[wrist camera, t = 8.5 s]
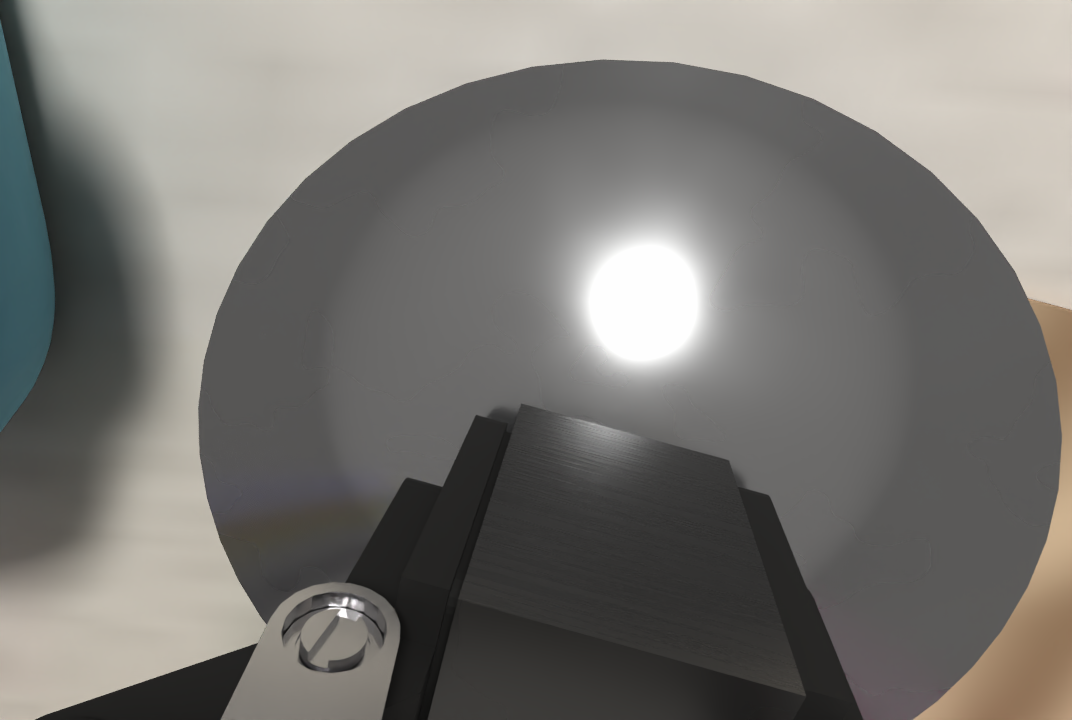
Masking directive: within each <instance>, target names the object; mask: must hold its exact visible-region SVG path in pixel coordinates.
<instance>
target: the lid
mask: <svg viewBox="0 0 1072 720" xmlns="http://www.w3.org/2000/svg"><path fill="white" fill-rule="evenodd" d="M198 410H199V445H200V459H201V464H202V470H203V476H204V482H205V488H206V494H207V499H208V502H209V506H210V509H211V512H212V515H213V518H214V522H215V525H216V528H217V531H218V535H219V538H220V541H221V543H222V545H223V547H224V550H225V552H226V554H227V556H228V558H229V561H230V563H231V565H232V567H233V569H234V571H235V574H236V576H237V578H238V580H239V582H240V584H241V585H242V587H243V588H244V590H245V592H246V593H247V595H248V597H249V598H250V600H251V602H252V603H253V605H254V606H255V608H256V610H257V611H258V613H259V615H260V616H261V618H262V619H263V620H264V622H265V623H266V624H268V622H269V620H270V618H271V616H272V615H273V614H274V612H275V611H276V610H277V608H278V607H279V605H280V604H281V603H282V602H284V601H285V600H286V599H288V598H289V597H290V596H292V595H293V594H294V593H296V592H298V591H301V590H303V589H306V588H308V587H311V586H313V585H319V584H325V583H331V582H338V583H345V582H346V580H347V579H348V577H349V575H350V573H351V572H352V570H353V568H354V566H355V565H356V563H357V561H358V559H359V558H360V556H361V554H362V552H363V551H364V549H365V547H366V545H367V544H368V542H369V540H370V539H371V537H372V535H373V533H374V532H375V530H376V528H377V526H378V525H379V523H380V521H381V519H382V518H383V516H384V514H385V512H386V511H387V509H388V507H389V505H390V504H391V502H392V500H393V498H394V497H395V495H396V493H397V491H398V490H399V488H400V486H401V484H402V483H403V481H404V480H405V479H406V478H408V477H409V478H412V479H416V480H420V481H423V482H427V483H430V484H434V485H438V486H441V487H443V485H444V483H445V481H446V479H447V476H448V474H449V472H450V470H451V468H452V466H453V463H454V461H455V459H456V457H457V455H458V453H459V450H460V448H461V446H462V444H463V442H464V440H465V437H466V435H467V433H468V431H469V429H470V426H471V424H472V422H473V420H474V418H475V416H476V415H479V416H482V417H486V418H490V419H493V420H497V421H501V422H504V423H508V424H507V429H506V432H508V433H512V434H511V437H510V440H509V443H508V446H507V449H506V452H505V455H504V458H503V462H502V465H501V468H500V471H499V474H498V477H497V480H496V483H495V486H494V489H493V493H492V496H491V499H490V502H489V505H488V508H487V511H486V514H485V517H484V520H483V523H482V527H481V530H480V533H479V536H478V539H477V542H476V545H475V548H474V551H473V554H472V558H471V561H470V564H469V567H468V570H467V573H466V576H465V579H464V582H463V585H462V589H461V592H460V595H459V598H458V601H457V605H456V609H455V613H454V617H453V621H452V625H451V629H450V633H449V637H448V641H447V645H446V649H445V653H444V657H443V661H442V665H441V669H440V673H439V677H438V681H437V685H436V688H435V692H434V696H433V700H432V704H431V708H430V712H429V716H428V720H793V719H794V717H795V716H796V714H797V712H798V710H799V709H800V707H801V705H802V703H803V702H804V700H805V698H806V694H805V691H804V687H803V684H802V681H801V678H800V675H799V672H798V669H797V666H796V663H795V660H794V657H793V654H792V651H791V648H790V645H789V642H788V639H787V636H786V633H785V630H784V626H783V623H782V620H781V617H780V614H779V611H778V608H777V605H776V602H775V599H774V596H773V593H772V590H771V587H770V584H769V581H768V578H767V575H766V572H765V569H764V565H763V562H762V559H761V556H760V553H759V550H758V547H757V544H756V541H755V538H754V535H753V532H752V529H751V526H750V523H749V520H748V517H747V514H746V511H745V508H744V504H743V501H742V498H741V495H740V492H739V489H738V487H742V488H745V489H749V490H753V491H756V492H760V493H763V494H767V495H769V496H770V498H771V500H772V503H773V505H774V508H775V510H776V513H777V515H778V518H779V520H780V522H781V525H782V527H783V530H784V532H785V535H786V537H787V540H788V542H789V545H790V547H791V550H792V552H793V555H794V557H795V560H796V562H797V565H798V567H799V570H800V572H801V575H802V577H803V580H804V582H805V585H806V587H807V589H808V590H809V591H810V592H811V594H812V596H813V597H814V599H815V602H816V604H817V607H818V609H819V612H820V614H821V617H822V619H823V622H824V624H825V626H826V629H827V631H828V634H829V636H830V639H831V641H832V644H833V646H834V648H835V651H836V653H837V656H838V658H839V661H840V663H841V666H842V668H843V671H844V673H845V675H846V678H847V680H848V683H849V685H850V688H851V690H852V693H853V695H854V698H855V700H856V702H857V705H858V707H859V710H860V712H861V715H862V717H863V720H913V719H914V718H916V717H917V716H918V715H920V714H921V713H922V712H924V711H925V710H926V709H928V708H929V707H930V706H932V705H933V704H934V703H936V702H937V701H938V700H939V699H940V698H941V697H942V696H943V695H944V694H945V693H946V692H947V691H949V690H950V689H951V688H952V687H953V686H954V685H955V684H956V683H957V682H958V681H959V680H960V679H961V678H962V677H963V676H964V675H965V674H966V673H967V672H968V671H969V670H970V669H971V668H972V667H973V666H974V665H975V663H976V662H977V661H978V660H979V659H980V657H981V656H982V655H983V654H984V652H985V651H986V650H987V649H988V647H989V646H990V645H991V644H992V642H993V641H994V640H995V639H996V637H997V636H998V635H999V634H1000V632H1001V631H1002V630H1003V628H1004V626H1005V625H1006V623H1007V621H1008V620H1009V618H1010V616H1011V615H1012V613H1013V611H1014V609H1015V608H1016V606H1017V604H1018V603H1019V601H1020V599H1021V598H1022V596H1023V594H1024V593H1025V591H1026V589H1027V588H1028V585H1029V583H1030V580H1031V578H1032V575H1033V573H1034V570H1035V568H1036V566H1037V563H1038V561H1039V558H1040V556H1041V553H1042V551H1043V548H1044V546H1045V543H1046V541H1047V537H1048V533H1049V529H1050V524H1051V520H1052V516H1053V512H1054V507H1055V503H1056V499H1057V494H1058V490H1059V476H1060V461H1061V445H1062V431H1061V421H1060V412H1059V402H1058V393H1057V383H1056V378H1055V375H1054V371H1053V368H1052V364H1051V361H1050V357H1049V354H1048V350H1047V346H1046V343H1045V339H1044V336H1043V332H1042V329H1041V325H1040V323H1039V321H1038V319H1037V317H1036V315H1035V313H1034V311H1033V309H1032V307H1031V304H1030V302H1029V300H1028V298H1027V296H1026V294H1025V292H1024V290H1023V288H1022V286H1021V284H1020V281H1019V279H1018V277H1017V275H1016V273H1015V271H1014V270H1013V268H1012V267H1011V265H1010V264H1009V263H1008V261H1007V260H1006V258H1005V257H1004V255H1003V254H1002V253H1001V251H1000V250H999V248H998V247H997V246H996V244H995V243H994V241H993V240H992V238H991V237H990V236H989V234H988V233H987V231H986V230H985V229H984V227H983V226H982V224H981V223H980V221H979V220H978V219H977V218H976V217H975V216H974V215H973V214H972V213H971V212H970V211H969V210H968V209H967V208H966V207H965V206H964V205H963V204H962V203H961V202H960V201H959V200H958V199H957V198H956V197H955V196H954V194H953V193H952V192H951V191H950V190H949V189H948V188H947V187H946V186H945V185H944V184H943V183H942V182H941V181H940V180H939V179H938V178H937V177H936V176H935V175H934V174H933V173H932V172H931V171H929V170H928V169H926V168H925V167H924V166H922V165H921V164H920V163H918V162H917V161H916V160H914V159H913V158H911V157H910V156H909V155H907V154H906V153H905V152H903V151H902V150H901V149H899V148H898V147H896V146H895V145H894V144H892V143H891V142H890V141H888V140H887V139H886V138H884V137H883V136H881V135H880V134H879V133H877V132H876V131H874V130H872V129H870V128H868V127H866V126H864V125H862V124H861V123H859V122H857V121H855V120H853V119H851V118H849V117H847V116H845V115H843V114H841V113H839V112H837V111H836V110H834V109H832V108H830V107H828V106H826V105H824V104H822V103H820V102H818V101H816V100H814V99H812V98H809V97H806V96H803V95H800V94H797V93H794V92H791V91H789V90H786V89H783V88H780V87H777V86H774V85H771V84H768V83H765V82H762V81H759V80H756V79H753V78H751V77H748V76H744V75H739V74H733V73H728V72H723V71H717V70H712V69H706V68H701V67H696V66H690V65H685V64H680V63H674V62H649V61H624V60H594V61H585V62H575V63H565V64H556V65H546V66H537V67H530V68H526V69H522V70H518V71H514V72H510V73H506V74H502V75H498V76H494V77H490V78H486V79H482V80H479V81H475V82H471V83H467V84H464V85H461V86H459V87H457V88H454V89H452V90H449V91H447V92H445V93H442V94H440V95H437V96H435V97H433V98H430V99H428V100H425V101H423V102H420V103H418V104H416V105H413V106H411V107H408V108H406V109H404V110H402V111H401V112H399V113H397V114H396V115H394V116H392V117H391V118H389V119H387V120H386V121H384V122H382V123H381V124H379V125H377V126H376V127H374V128H372V129H371V130H369V131H367V132H366V133H364V134H362V135H361V136H359V137H357V138H356V139H354V140H352V141H351V142H349V143H348V144H347V145H346V146H345V147H343V148H342V149H341V150H340V151H339V152H337V153H336V154H335V155H334V156H333V157H331V158H330V159H329V160H328V161H326V162H325V163H324V164H323V165H322V166H320V167H319V168H318V169H317V170H316V171H314V172H313V173H312V174H311V175H310V176H308V177H307V178H306V179H305V180H304V181H303V182H302V183H301V184H300V185H299V186H298V188H297V189H296V190H295V191H294V192H293V193H292V194H291V195H290V197H289V198H288V199H287V200H286V201H285V202H284V203H283V204H282V206H281V207H280V208H279V209H278V210H277V211H276V212H275V213H274V215H273V216H272V217H271V218H270V219H269V220H268V221H267V223H266V224H265V226H264V227H263V229H262V230H261V232H260V233H259V235H258V237H257V238H256V240H255V241H254V243H253V244H252V246H251V247H250V249H249V250H248V252H247V254H246V255H245V257H244V258H243V260H242V261H241V263H240V264H239V266H238V268H237V270H236V272H235V274H234V277H233V279H232V281H231V283H230V286H229V288H228V290H227V292H226V295H225V297H224V299H223V301H222V304H221V306H220V308H219V310H218V313H217V315H216V319H215V323H214V326H213V330H212V334H211V337H210V341H209V345H208V348H207V352H206V356H205V359H204V365H203V374H202V382H201V391H200V399H199V408H198Z"/></svg>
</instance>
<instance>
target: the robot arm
mask: <svg viewBox="0 0 1072 720" xmlns="http://www.w3.org/2000/svg"><path fill="white" fill-rule="evenodd" d="M507 424H508V423H504V422H501V421H497V420H493V419H490V418H486V417H482V416H479V415H476V416H475V418H474V420H473V422H472V424H471V426H470V429H469V431H468V433H467V435H466V437H465V440H464V442H463V444H462V446H461V448H460V450H459V453H458V455H457V457H456V459H455V461H454V463H453V466H452V468H451V470H450V472H449V474H448V476H447V479H446V481H445V483H444V485H443V487H441V486H438V485H434V484H430V483H427V482H423V481H420V480H416V479H412V478H409V477H408V478H406V479H405V480H404V481H403V483H402V484H401V486H400V488H399V490H398V491H397V493H396V495H395V497H394V498H393V500H392V502H391V504H390V505H389V507H388V509H387V511H386V512H385V514H384V516H383V518H382V519H381V521H380V523H379V525H378V526H377V528H376V530H375V532H374V533H373V535H372V537H371V539H370V540H369V542H368V544H367V545H366V547H365V549H364V551H363V552H362V554H361V556H360V558H359V559H358V561H357V563H356V565H355V566H354V568H353V570H352V572H351V573H350V575H349V577H348V579H347V580H346V582H345V583H338V582H331V583H325V584H319V585H313V586H311V587H308V588H306V589H303V590H301V591H298V592H296V593H294V594H293V595H292V596H290V597H289V598H288V599H286V600H285V601H284V602H282V603H281V604H280V605H279V607H278V608H277V610H276V611H275V612H274V614H273V615H272V616H271V618H270V620H269V622H268V624H267V626H266V628H265V630H264V632H263V634H262V636H261V638H260V640H259V642H258V643H257V644H254V645H251V646H248V647H245V648H242V649H239V650H236V651H233V652H230V653H227V654H224V655H221V656H218V657H215V658H212V659H209V660H206V661H204V662H201V663H198V664H195V665H192V666H189V667H186V668H183V669H180V670H177V671H174V672H171V673H168V674H165V675H162V676H159V677H156V678H153V679H150V680H147V681H145V682H142V683H139V684H136V685H133V686H130V687H127V688H124V689H121V690H118V691H115V692H112V693H109V694H106V695H103V696H100V697H97V698H94V699H91V700H88V701H86V702H83V703H80V704H77V705H74V706H71V707H68V708H65V709H62V710H59V711H56V712H53V713H50V714H47V715H45V716H42V717H40V718H38V719H36V720H428V716H429V712H430V708H431V704H432V700H433V696H434V692H435V688H436V685H437V681H438V677H439V673H440V669H441V665H442V661H443V657H444V653H445V649H446V645H447V641H448V637H449V633H450V629H451V625H452V621H453V617H454V613H455V609H456V605H457V601H458V598H459V595H460V592H461V589H462V585H463V582H464V579H465V576H466V573H467V570H468V567H469V564H470V561H471V558H472V554H473V551H474V548H475V545H476V542H477V539H478V536H479V533H480V530H481V527H482V523H483V520H484V517H485V514H486V511H487V508H488V505H489V502H490V499H491V496H492V493H493V489H494V486H495V483H496V480H497V477H498V474H499V471H500V468H501V465H502V462H503V458H504V455H505V452H506V449H507V446H508V443H509V440H510V437H511V434H512V433H508V432H506V429H507ZM738 489H739V492H740V495H741V498H742V501H743V504H744V508H745V511H746V514H747V517H748V520H749V523H750V526H751V529H752V532H753V535H754V538H755V541H756V544H757V547H758V550H759V553H760V556H761V559H762V562H763V565H764V569H765V572H766V575H767V578H768V581H769V584H770V587H771V590H772V593H773V596H774V599H775V602H776V605H777V608H778V611H779V614H780V617H781V620H782V623H783V626H784V630H785V633H786V636H787V639H788V642H789V645H790V648H791V651H792V654H793V657H794V660H795V663H796V666H797V669H798V672H799V675H800V678H801V681H802V684H803V687H804V691H805V694H806V698H805V700H804V702H803V703H802V705H801V707H800V709H799V710H798V712H797V714H796V716H795V717H794V719H793V720H863V717H862V715H861V712H860V710H859V707H858V705H857V702H856V700H855V698H854V695H853V693H852V690H851V688H850V685H849V683H848V680H847V678H846V675H845V673H844V671H843V668H842V666H841V663H840V661H839V658H838V656H837V653H836V651H835V648H834V646H833V644H832V641H831V639H830V636H829V634H828V631H827V629H826V626H825V624H824V622H823V619H822V617H821V614H820V612H819V609H818V607H817V604H816V602H815V599H814V597H813V596H812V594H811V592H810V591H809V590H808V589H807V587H806V585H805V582H804V580H803V577H802V575H801V572H800V570H799V567H798V565H797V562H796V560H795V557H794V555H793V552H792V550H791V547H790V545H789V542H788V540H787V537H786V535H785V532H784V530H783V527H782V525H781V522H780V520H779V518H778V515H777V513H776V510H775V508H774V505H773V503H772V500H771V498H770V496H769V495H767V494H763V493H760V492H756V491H753V490H749V489H745V488H742V487H738Z"/></svg>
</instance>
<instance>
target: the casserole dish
mask: <svg viewBox="0 0 1072 720" xmlns="http://www.w3.org/2000/svg"><path fill="white" fill-rule="evenodd" d="M54 313H55V287H54V276H53V266H52V256H51V249H50V244H49V238H48V233H47V227H46V222H45V217H44V213H43V208H42V204H41V199H40V195H39V190H38V186H37V182H36V177H35V173H34V168H33V164H32V159H31V155H30V150H29V146H28V141H27V137H26V132H25V128H24V124H23V119H22V115H21V110H20V106H19V101H18V97H17V92H16V88H15V83H14V79H13V74H12V70H11V65H10V61H9V56H8V52H7V47H6V43H5V38H4V34H3V29H2V25H1V21H0V432H1V431H2V430H3V428H4V427H5V426H6V424H7V423H8V422H9V420H10V419H11V418H12V416H13V415H14V414H15V412H16V411H17V410H18V408H19V407H20V406H21V404H22V403H23V401H24V400H25V399H26V397H27V396H28V394H29V392H30V391H31V389H32V388H33V386H34V384H35V382H36V380H37V378H38V376H39V373H40V371H41V369H42V367H43V364H44V362H45V359H46V355H47V352H48V349H49V346H50V343H51V337H52V330H53V323H54Z"/></svg>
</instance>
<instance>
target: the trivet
mask: <svg viewBox="0 0 1072 720" xmlns="http://www.w3.org/2000/svg"><path fill="white" fill-rule="evenodd" d="M1028 300H1029V302H1030V304H1031V307H1032V309H1033V311H1034V313H1035V315H1036V317H1037V319H1038V321H1039V323H1040V325H1041V329H1042V332H1043V336H1044V339H1045V343H1046V346H1047V350H1048V354H1049V357H1050V361H1051V364H1052V368H1053V371H1054V375H1055V378H1056V383H1057V393H1058V402H1059V412H1060V421H1061V431H1062V445H1061V461H1060V476H1059V490H1058V494H1057V499H1056V503H1055V507H1054V512H1053V516H1052V520H1051V524H1050V529H1049V533H1048V537H1047V541H1046V543H1045V546H1044V548H1043V551H1042V553H1041V556H1040V558H1039V561H1038V563H1037V566H1036V568H1035V570H1034V573H1033V575H1032V578H1031V580H1030V583H1029V585H1028V588H1027V589H1026V591H1025V593H1024V594H1023V596H1022V598H1021V599H1020V601H1019V603H1018V604H1017V606H1016V608H1015V609H1014V611H1013V613H1012V615H1011V616H1010V618H1009V620H1008V621H1007V623H1006V625H1005V626H1004V628H1003V630H1002V631H1001V632H1000V634H999V635H998V636H997V637H996V639H995V640H994V641H993V642H992V644H991V645H990V646H989V647H988V649H987V650H986V651H985V652H984V654H983V655H982V656H981V657H980V659H979V660H978V661H977V662H976V663H975V665H974V666H973V667H972V668H971V669H970V670H969V671H968V672H967V673H966V674H965V675H964V676H963V677H962V678H961V679H960V680H959V681H958V682H957V683H956V684H955V685H954V686H953V687H952V688H951V689H950V690H949V691H947V692H946V693H945V694H944V695H943V696H942V697H941V698H940V699H939V700H938V701H937V702H936V703H934V704H933V705H932V706H930V707H929V708H928V709H926V710H925V711H924V712H922V713H921V714H920V715H918V716H917V717H916V718H914V719H913V720H1072V310H1069V309H1066V308H1062V307H1058V306H1054V305H1051V304H1047V303H1043V302H1039V301H1036V300H1032V299H1028Z"/></svg>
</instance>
